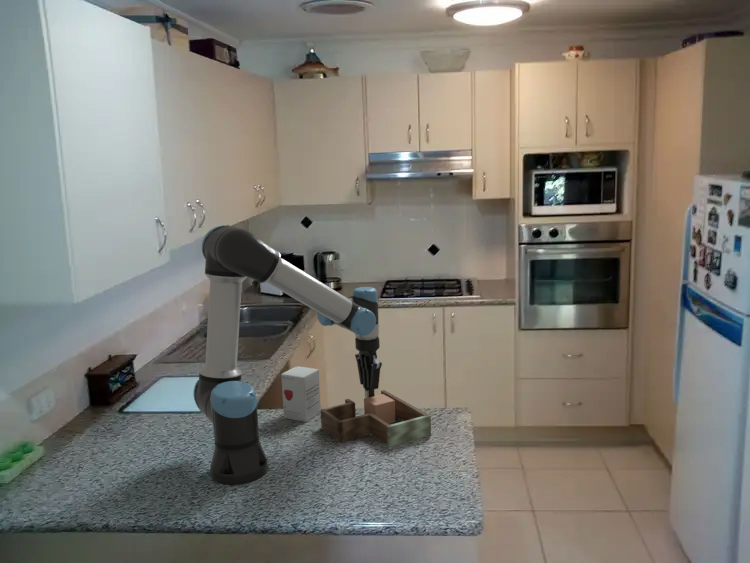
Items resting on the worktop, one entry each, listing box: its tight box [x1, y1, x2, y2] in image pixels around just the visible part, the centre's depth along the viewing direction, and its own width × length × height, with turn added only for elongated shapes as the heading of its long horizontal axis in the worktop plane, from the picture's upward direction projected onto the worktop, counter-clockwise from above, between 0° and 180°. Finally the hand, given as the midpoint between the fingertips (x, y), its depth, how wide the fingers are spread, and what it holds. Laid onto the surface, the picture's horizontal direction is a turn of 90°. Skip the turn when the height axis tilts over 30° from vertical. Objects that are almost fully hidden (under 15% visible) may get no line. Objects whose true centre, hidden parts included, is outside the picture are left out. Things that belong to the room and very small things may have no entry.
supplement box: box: [280, 365, 322, 423], centre depth 217 cm, size 9×9×15 cm
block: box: [363, 393, 396, 425], centre depth 211 cm, size 7×7×7 cm
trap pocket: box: [320, 403, 371, 443], centre depth 205 cm, size 11×12×6 cm
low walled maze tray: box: [344, 389, 432, 448], centre depth 207 cm, size 14×27×6 cm, turn 30°
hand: (370, 407), depth 216 cm, fingers closed
